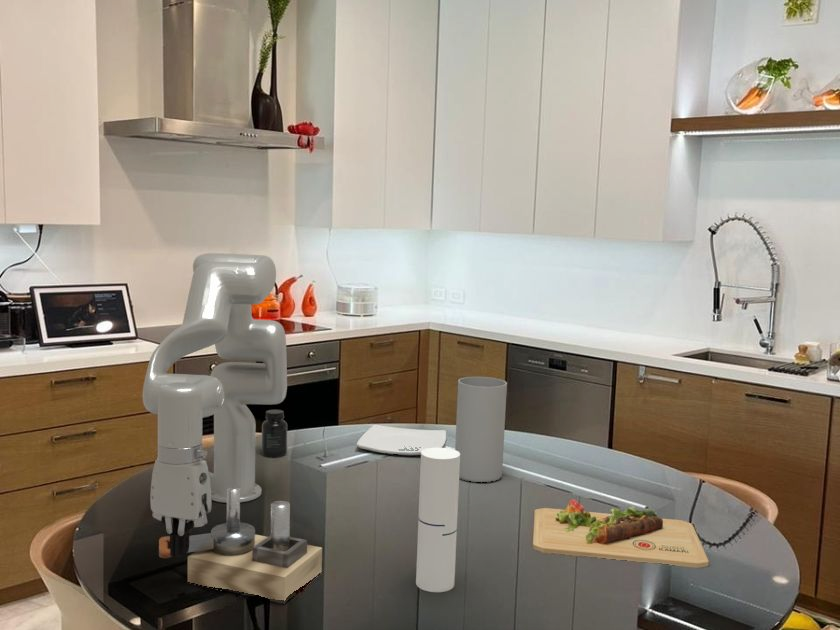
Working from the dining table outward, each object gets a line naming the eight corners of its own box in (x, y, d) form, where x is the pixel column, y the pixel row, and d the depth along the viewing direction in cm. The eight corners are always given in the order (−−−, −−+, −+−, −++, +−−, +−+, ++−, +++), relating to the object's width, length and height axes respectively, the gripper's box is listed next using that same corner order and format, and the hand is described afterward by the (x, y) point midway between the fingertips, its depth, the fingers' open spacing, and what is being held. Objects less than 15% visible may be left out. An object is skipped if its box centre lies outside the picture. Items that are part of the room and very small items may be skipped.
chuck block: (187, 582, 154) (187, 543, 153) (230, 553, 167) (231, 517, 166) (284, 604, 147) (285, 563, 146) (321, 572, 160) (322, 534, 159)
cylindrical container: (414, 575, 160) (419, 447, 157) (451, 575, 161) (457, 447, 158) (417, 592, 153) (422, 458, 150) (456, 592, 154) (462, 459, 151)
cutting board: (532, 555, 173) (534, 519, 172) (534, 514, 196) (536, 483, 195) (709, 572, 168) (712, 536, 167) (690, 528, 191) (693, 496, 190)
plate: (351, 454, 236) (351, 445, 236) (371, 431, 260) (371, 423, 260) (437, 462, 232) (438, 452, 232) (450, 438, 256) (450, 429, 256)
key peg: (283, 562, 152) (283, 509, 151) (267, 558, 153) (267, 505, 152) (293, 554, 155) (293, 502, 154) (277, 551, 157) (277, 499, 155)
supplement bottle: (266, 449, 236) (266, 407, 235) (289, 451, 235) (290, 409, 234) (258, 456, 229) (258, 413, 228) (282, 458, 228) (283, 415, 227)
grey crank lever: (155, 547, 156) (155, 490, 154) (248, 534, 163) (249, 479, 162) (162, 564, 148) (162, 504, 147) (259, 550, 156) (260, 493, 154)
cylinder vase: (446, 470, 224) (450, 378, 220) (488, 466, 229) (492, 375, 225) (467, 485, 212) (471, 388, 209) (510, 481, 217) (515, 385, 214)
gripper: (228, 453, 149) (227, 553, 152) (157, 443, 154) (157, 539, 156) (204, 464, 142) (203, 569, 144) (130, 453, 147) (130, 554, 149)
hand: (179, 553), depth 150 cm, fingers closed
